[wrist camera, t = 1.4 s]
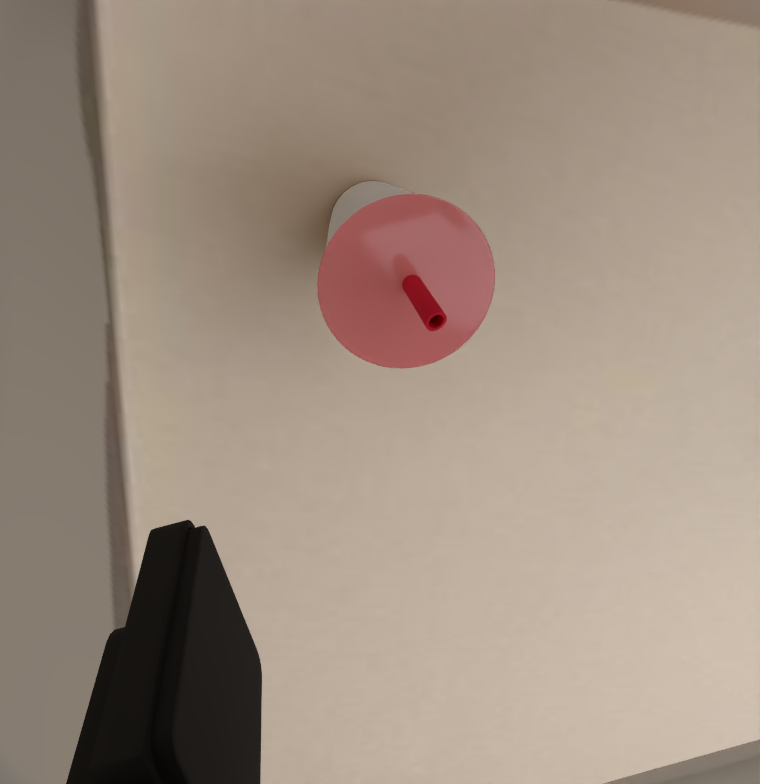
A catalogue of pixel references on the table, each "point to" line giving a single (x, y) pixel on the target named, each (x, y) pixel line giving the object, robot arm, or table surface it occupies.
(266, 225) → the table surface
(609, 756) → the table surface
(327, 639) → the table surface
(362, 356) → the cup
